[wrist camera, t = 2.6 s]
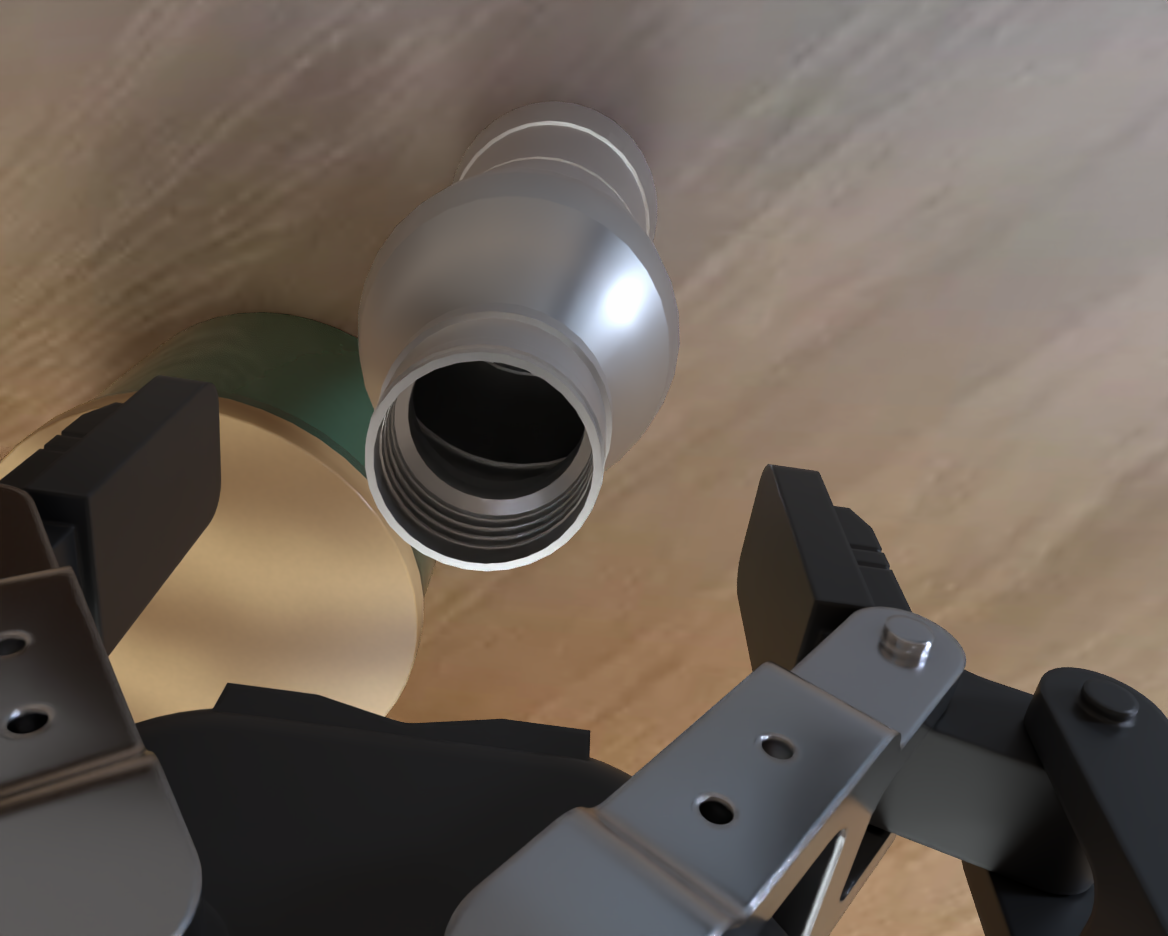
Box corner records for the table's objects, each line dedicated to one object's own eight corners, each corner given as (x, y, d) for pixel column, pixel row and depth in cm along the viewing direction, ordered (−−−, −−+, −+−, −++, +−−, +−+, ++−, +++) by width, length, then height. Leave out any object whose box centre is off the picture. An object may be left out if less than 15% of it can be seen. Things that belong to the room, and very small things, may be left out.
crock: (95, 276, 34) (-69, 368, 26) (477, 334, 34) (434, 442, 26) (123, 592, 40) (-2, 746, 32) (446, 637, 40) (404, 799, 32)
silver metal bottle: (434, 252, 33) (218, 571, 15) (503, 56, 30) (336, 162, 12) (605, 324, 34) (592, 702, 16) (688, 140, 31) (785, 352, 13)
